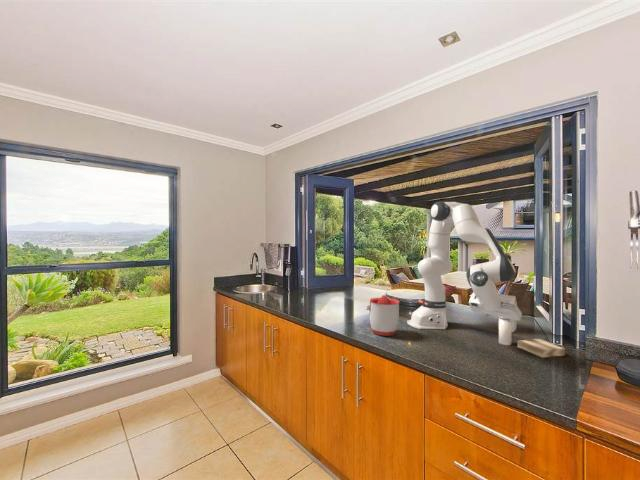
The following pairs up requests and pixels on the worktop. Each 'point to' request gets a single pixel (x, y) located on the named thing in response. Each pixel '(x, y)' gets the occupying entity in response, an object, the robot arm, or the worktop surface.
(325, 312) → the worktop surface
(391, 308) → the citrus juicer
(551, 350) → the base slab
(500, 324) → the canister
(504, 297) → the milk carton
